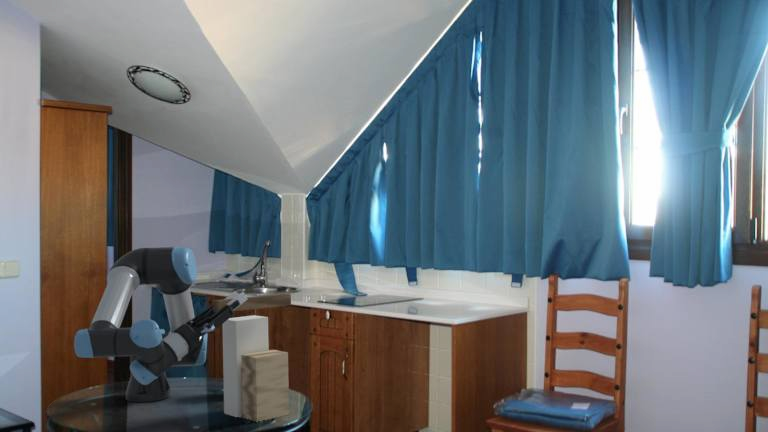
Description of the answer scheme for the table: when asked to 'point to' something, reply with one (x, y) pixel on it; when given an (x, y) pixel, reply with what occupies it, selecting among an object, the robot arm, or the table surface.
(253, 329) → the white block
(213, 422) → the table surface
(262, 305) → the walnut bar
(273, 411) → the oak block
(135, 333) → the robot arm
